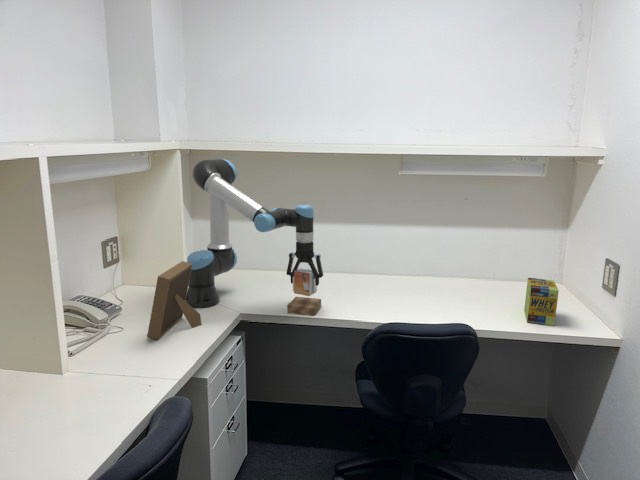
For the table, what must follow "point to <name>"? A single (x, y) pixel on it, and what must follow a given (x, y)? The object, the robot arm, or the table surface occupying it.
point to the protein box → (541, 301)
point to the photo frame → (172, 301)
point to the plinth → (304, 306)
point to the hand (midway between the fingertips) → (304, 291)
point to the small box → (304, 282)
